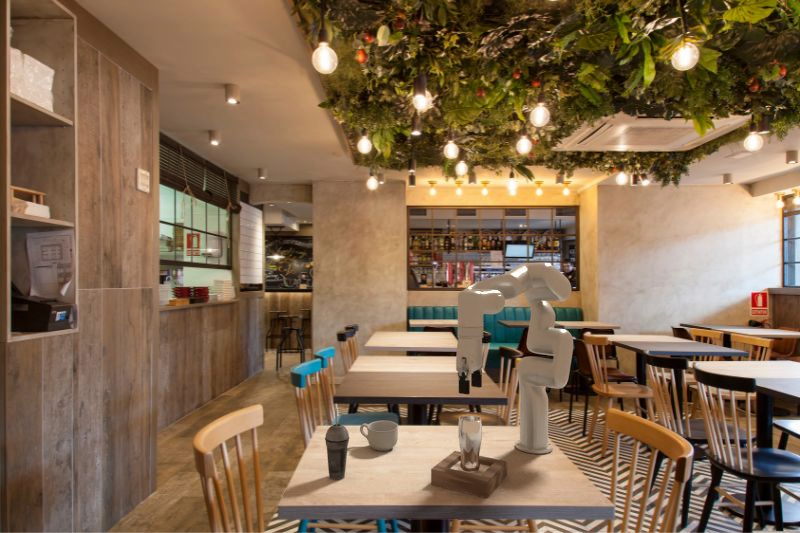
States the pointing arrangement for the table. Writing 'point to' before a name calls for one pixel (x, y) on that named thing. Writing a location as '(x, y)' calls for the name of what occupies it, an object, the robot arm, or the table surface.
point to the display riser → (469, 475)
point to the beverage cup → (337, 450)
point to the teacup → (381, 434)
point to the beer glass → (470, 442)
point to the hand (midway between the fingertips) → (470, 390)
